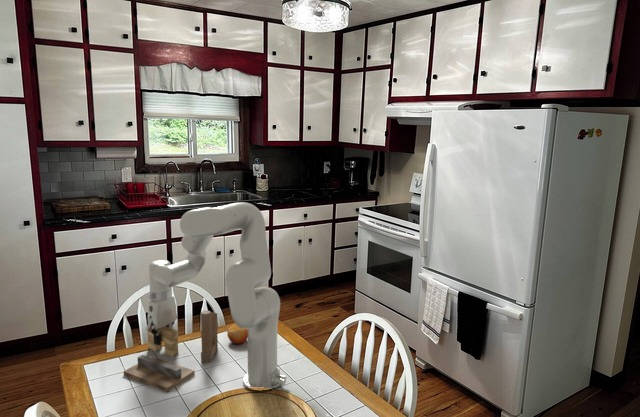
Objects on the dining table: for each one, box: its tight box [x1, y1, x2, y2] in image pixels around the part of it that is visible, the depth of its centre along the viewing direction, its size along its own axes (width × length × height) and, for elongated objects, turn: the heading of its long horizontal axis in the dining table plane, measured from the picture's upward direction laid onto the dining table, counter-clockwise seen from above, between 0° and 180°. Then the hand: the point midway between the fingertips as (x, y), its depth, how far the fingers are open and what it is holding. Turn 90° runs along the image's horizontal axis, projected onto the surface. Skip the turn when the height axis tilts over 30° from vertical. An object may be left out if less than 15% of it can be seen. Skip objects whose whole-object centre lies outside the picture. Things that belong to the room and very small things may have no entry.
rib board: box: [123, 354, 196, 393], centre depth 154 cm, size 20×12×4 cm, turn 62°
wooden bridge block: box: [147, 326, 179, 357], centre depth 170 cm, size 3×12×9 cm, turn 62°
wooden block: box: [200, 310, 219, 363], centre depth 167 cm, size 4×11×18 cm, turn 0°
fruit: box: [226, 323, 248, 345], centre depth 179 cm, size 8×8×8 cm
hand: (162, 341), depth 170 cm, fingers open, 4 cm apart
